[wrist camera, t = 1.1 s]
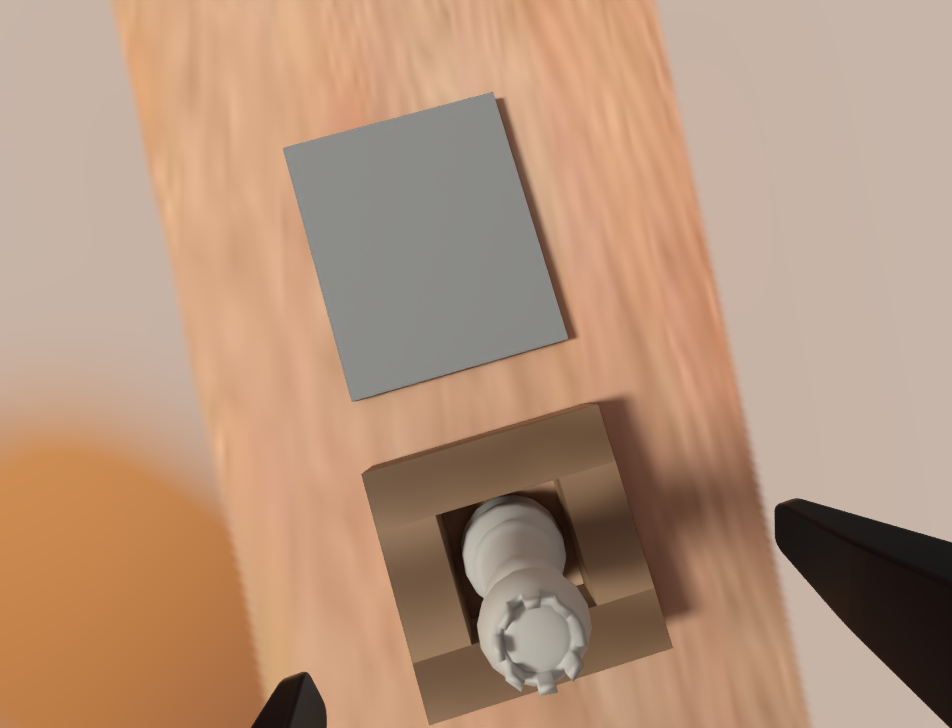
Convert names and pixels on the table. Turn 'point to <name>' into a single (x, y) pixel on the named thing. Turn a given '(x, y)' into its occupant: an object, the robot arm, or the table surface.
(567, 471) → the socket block
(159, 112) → the table surface
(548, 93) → the table surface
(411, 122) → the slate mat
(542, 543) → the rook chess piece
